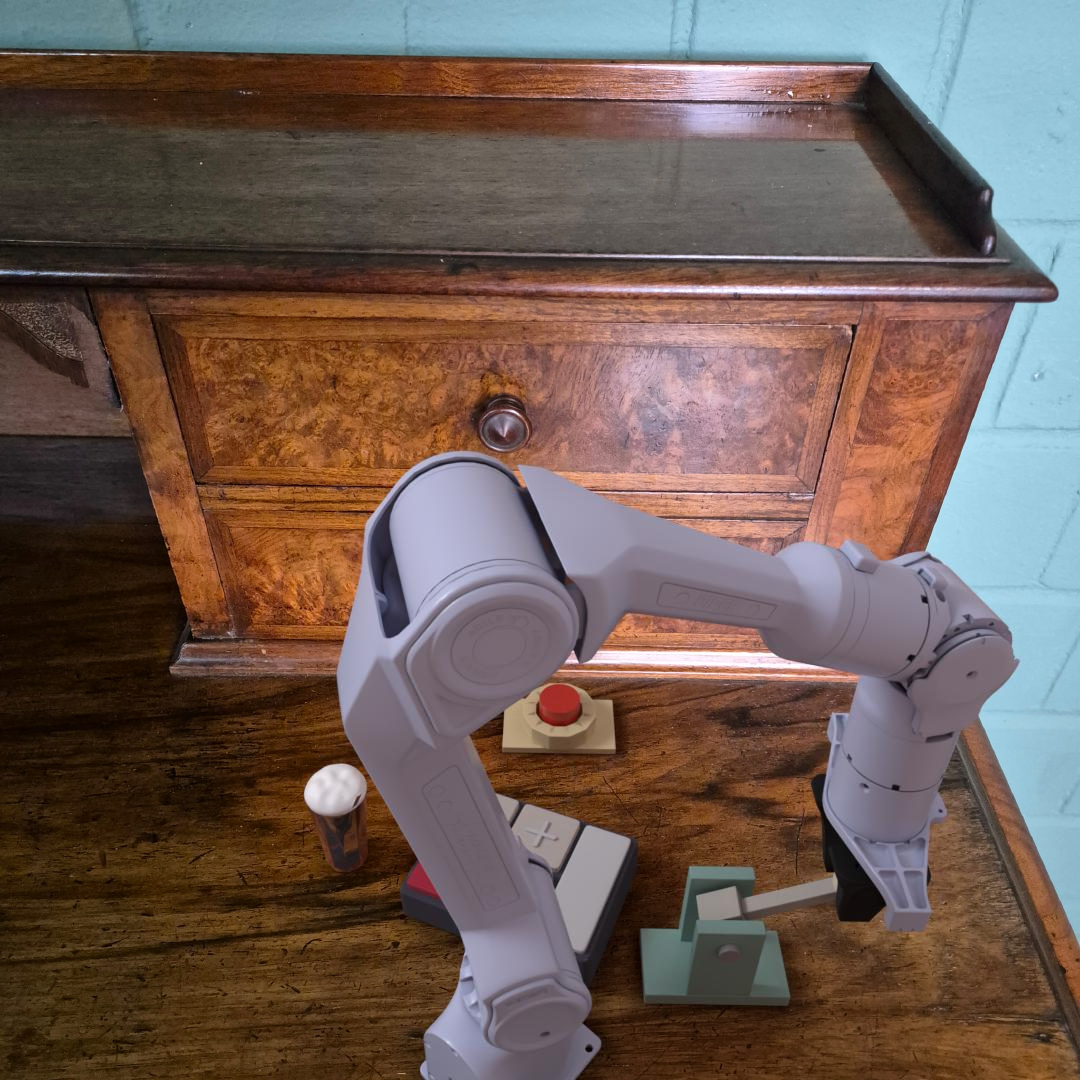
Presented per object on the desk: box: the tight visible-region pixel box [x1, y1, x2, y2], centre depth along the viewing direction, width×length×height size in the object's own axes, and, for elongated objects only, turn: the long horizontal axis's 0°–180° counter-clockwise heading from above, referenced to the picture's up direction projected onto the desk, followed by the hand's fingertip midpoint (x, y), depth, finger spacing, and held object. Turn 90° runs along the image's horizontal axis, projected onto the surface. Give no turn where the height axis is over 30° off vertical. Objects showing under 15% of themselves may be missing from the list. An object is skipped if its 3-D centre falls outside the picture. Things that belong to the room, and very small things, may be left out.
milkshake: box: [303, 763, 369, 874], centre depth 72 cm, size 4×5×10 cm
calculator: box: [399, 792, 639, 989], centre depth 72 cm, size 11×4×15 cm
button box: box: [501, 682, 617, 755], centre depth 86 cm, size 6×10×2 cm, turn 89°
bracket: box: [638, 865, 791, 1007], centre depth 65 cm, size 10×6×9 cm, turn 89°
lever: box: [696, 872, 838, 921], centre depth 63 cm, size 12×3×3 cm, turn 90°
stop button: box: [539, 684, 580, 727], centre depth 85 cm, size 4×4×2 cm
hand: (846, 892), depth 62 cm, fingers closed on lever, 3 cm apart
